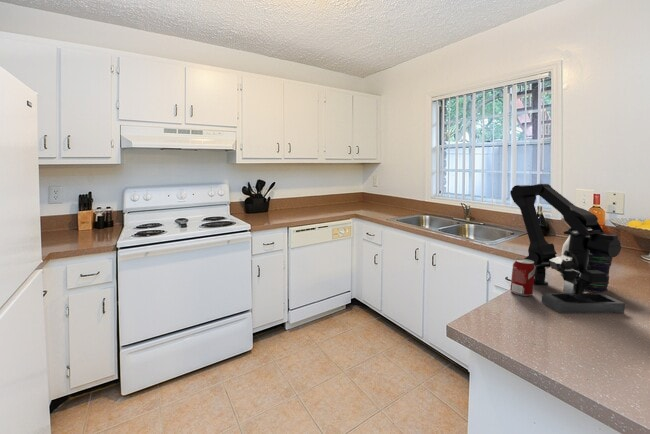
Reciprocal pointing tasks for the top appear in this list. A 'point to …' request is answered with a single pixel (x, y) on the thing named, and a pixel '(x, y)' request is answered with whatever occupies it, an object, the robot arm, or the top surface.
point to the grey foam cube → (570, 286)
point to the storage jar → (602, 265)
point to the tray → (582, 303)
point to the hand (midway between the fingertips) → (573, 292)
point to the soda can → (523, 277)
